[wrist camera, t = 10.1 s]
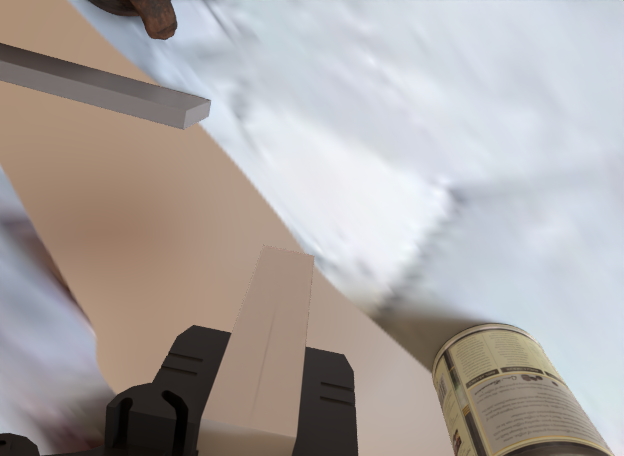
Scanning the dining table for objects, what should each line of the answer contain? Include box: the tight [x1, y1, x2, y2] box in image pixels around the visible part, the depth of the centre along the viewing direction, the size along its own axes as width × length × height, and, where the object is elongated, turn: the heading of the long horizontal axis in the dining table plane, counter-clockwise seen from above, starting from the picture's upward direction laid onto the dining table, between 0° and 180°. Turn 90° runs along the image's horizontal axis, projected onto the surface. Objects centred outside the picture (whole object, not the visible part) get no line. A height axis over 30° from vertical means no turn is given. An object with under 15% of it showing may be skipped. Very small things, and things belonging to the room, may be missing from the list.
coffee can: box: [432, 324, 614, 456], centre depth 35 cm, size 10×10×14 cm
